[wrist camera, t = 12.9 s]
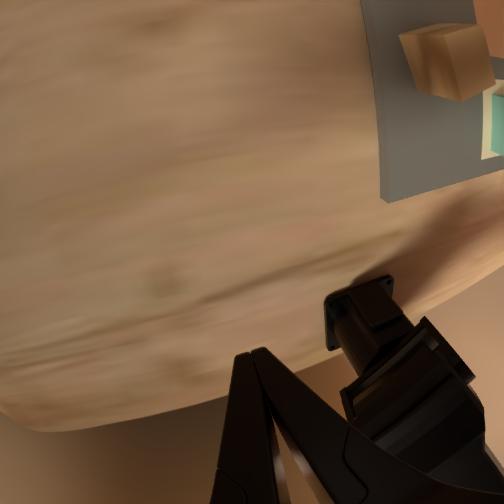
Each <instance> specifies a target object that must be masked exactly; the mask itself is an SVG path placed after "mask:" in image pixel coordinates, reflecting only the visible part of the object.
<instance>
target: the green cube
mask: <svg viewBox="0 0 504 504" xmlns="http://www.w3.org/2000/svg"><path fill="white" fill-rule="evenodd" d="M490 151H493V152H495V153H497V154H499V155H501V156H504V94H492V130H491V150H490Z"/></svg>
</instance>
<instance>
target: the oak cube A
mask: <svg viewBox="0 0 504 504" xmlns="http://www.w3.org/2000/svg"><path fill="white" fill-rule="evenodd" d="M398 36H399V38H400V41H401V44H402V46H403V49H404V52H405V55H406V58H407V61H408V63H409V66H410V69H411V73H412V76H413V79H414V82H415V85H416V89H417V92H422V93H427V94H431V95H435V96H440V97H444V98H448V99H452V100H456V101H460V102H463V101H465V100H467V99H469V98H471V97H473V96H475V95H476V94H478V93H480V92H482V91H484V90H486V89H488V88H490V87H492V86H494V85H496V81H495V76H494V71H493V67H492V62H491V58H490V54H489V50H488V46H487V42H486V38H485V35H484V31H483V28H482V25H481V24H459V23H436V24H433V25H429V26H426V27H422V28H419V29H416V30H412V31H409V32H406V33H403V34H400V35H398Z"/></svg>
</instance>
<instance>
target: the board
mask: <svg viewBox="0 0 504 504" xmlns="http://www.w3.org/2000/svg"><path fill="white" fill-rule="evenodd" d="M360 2H361V7H362V12H363V17H364V22H365V28H366V33H367V39H368V46H369V52H370V59H371V66H372V74H373V82H374V91H375V101H376V111H377V123H378V138H379V156H380V189H381V198H382V199H383V200H385V201H386V202H387V203H391V202H394V201H398V200H401V199H404V198H408V197H411V196H414V195H418V194H421V193H425V192H428V191H431V190H435V189H438V188H441V187H445V186H448V185H452V184H455V183H458V182H462V181H465V180H468V179H472V178H475V177H479V176H482V175H485V174H489V173H492V172H496V171H499V170H503V169H504V156H501V155H499V154H497V153H495V152H493V151H490V150H491V130H492V94H504V0H360ZM436 23H459V24H481V25H482V28H483V31H484V35H485V38H486V42H487V46H488V50H489V54H490V58H491V62H492V67H493V71H494V76H495V81H496V85H494V86H492V87H490V88H488V89H486V90H484V91H482V92H480V93H478V94H476V95H475V96H473V97H471V98H469V99H467V100H465V101H463V102H460V101H456V100H452V99H448V98H444V97H440V96H435V95H431V94H427V93H422V92H417V89H416V85H415V82H414V79H413V76H412V73H411V69H410V66H409V63H408V61H407V58H406V55H405V52H404V49H403V46H402V44H401V41H400V38H399V36H398V35H400V34H403V33H406V32H409V31H412V30H416V29H419V28H422V27H426V26H429V25H433V24H436Z"/></svg>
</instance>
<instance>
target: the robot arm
mask: <svg viewBox="0 0 504 504" xmlns="http://www.w3.org/2000/svg"><path fill="white" fill-rule="evenodd" d="M393 284H394V279H393V277H392V276H391V275H386V276H383V277H381V278H378V279H376V280H373V281H371V282H368V283H365V284H363V285H360V286H358V287H355V288H352V289H350V290H347V291H345V292H342V293H339V294H336V295H334V296H331V297H329V298H327V299H326V300H325V301H324V317H325V334H326V347H327V349H328V351H333V350H336V349H338V348H342V350H343V352H344V353H345V355H346V357H347V358H348V360H349V361H350V363H351V365H352V366H353V368H354V370H355V372H356V373H357V375H358V378H357V379H356V380H355V381H354V382H352V383H351V384H350V385H348V386H347V387H344V388H343V389H342V390H341V391H340V396H341V399H342V404H343V407H344V411H345V414H346V417H347V420H345V419H344V418H343V417H342V416H340V414H338V413H337V412H336V411H335V410H334V409H333V408H331V407H330V406H329V405H328V404H327V403H326V402H325V401H324V400H322V399H321V398H320V397H319V396H318V395H317V394H316V393H315V392H313V391H312V390H311V389H310V388H309V387H308V386H307V385H306V384H305V383H304V382H302V381H301V380H300V379H299V378H298V377H297V376H296V375H295V374H294V373H293V372H292V371H290V370H289V369H288V368H287V367H286V366H285V365H284V364H283V363H282V362H281V361H280V360H279V359H278V358H277V357H275V356H274V355H273V354H272V353H271V352H270V351H269V350H268V349H267V348H266V347H260V348H257V349H254V350H252V351H251V354H250V352H245V353H241V354H238V355H236V356H235V358H234V364H233V370H232V376H231V382H230V388H229V394H228V401H227V407H226V413H225V420H224V425H223V431H222V437H221V443H220V449H219V456H218V462H217V468H218V469H216V473H215V479H214V485H213V490H212V495H211V500H210V503H209V504H291V501H290V496H289V491H288V486H287V482H286V478H285V472H284V468H283V463H282V458H281V454H280V449H279V444H278V439H277V435H276V430H275V425H274V421H275V423H276V425H277V427H278V429H279V431H280V433H281V435H282V437H283V438H284V441H285V442H286V444H287V446H288V448H289V450H290V452H291V453H292V455H293V457H294V459H295V461H296V463H297V465H298V466H299V468H300V470H301V472H302V474H303V475H304V477H305V479H306V481H307V483H308V484H309V486H310V488H311V489H312V491H313V493H314V495H315V497H316V498H317V500H318V502H319V503H320V504H504V468H503V467H502V466H501V464H500V463H499V461H498V460H497V458H496V457H495V456H494V454H493V453H492V451H491V450H490V449H489V447H488V446H487V444H486V443H485V420H484V419H485V418H484V407H483V406H482V403H481V401H480V399H479V398H478V396H477V394H476V393H475V391H474V390H473V389H472V387H471V386H470V385H469V383H470V382H471V381H472V380H473V379H475V378H476V376H475V375H474V374H473V373H472V371H471V370H470V369H469V367H468V366H467V365H466V364H465V362H464V361H463V360H462V359H461V358H460V356H459V355H458V354H457V353H456V352H455V350H454V349H453V348H452V347H451V346H450V344H449V343H448V342H447V341H446V340H445V338H444V337H443V336H442V335H441V334H440V333H439V331H438V330H437V329H436V328H435V327H434V326H433V325H432V323H431V322H430V321H429V320H428V319H427V318H426V317H425V316H424V317H423V318H422V319H421V320H420V322H419V323H418V324H417V325H416V326H414V325H413V324H412V323H411V321H410V320H409V319H408V318H407V317H406V316H405V314H404V313H403V310H402V309H401V308H400V307H399V306H398V305H397V303H396V302H395V301H394V300H393V299H392V293H393ZM331 302H332V303H331ZM251 356H252V357H251ZM252 359H253V360H252ZM261 385H262V386H261ZM262 388H263V389H262ZM263 391H264V392H263ZM268 405H269V406H268ZM269 408H270V409H269ZM270 411H271V412H270ZM271 414H272V415H271ZM272 416H273V418H272ZM273 419H274V421H273Z"/></svg>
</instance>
